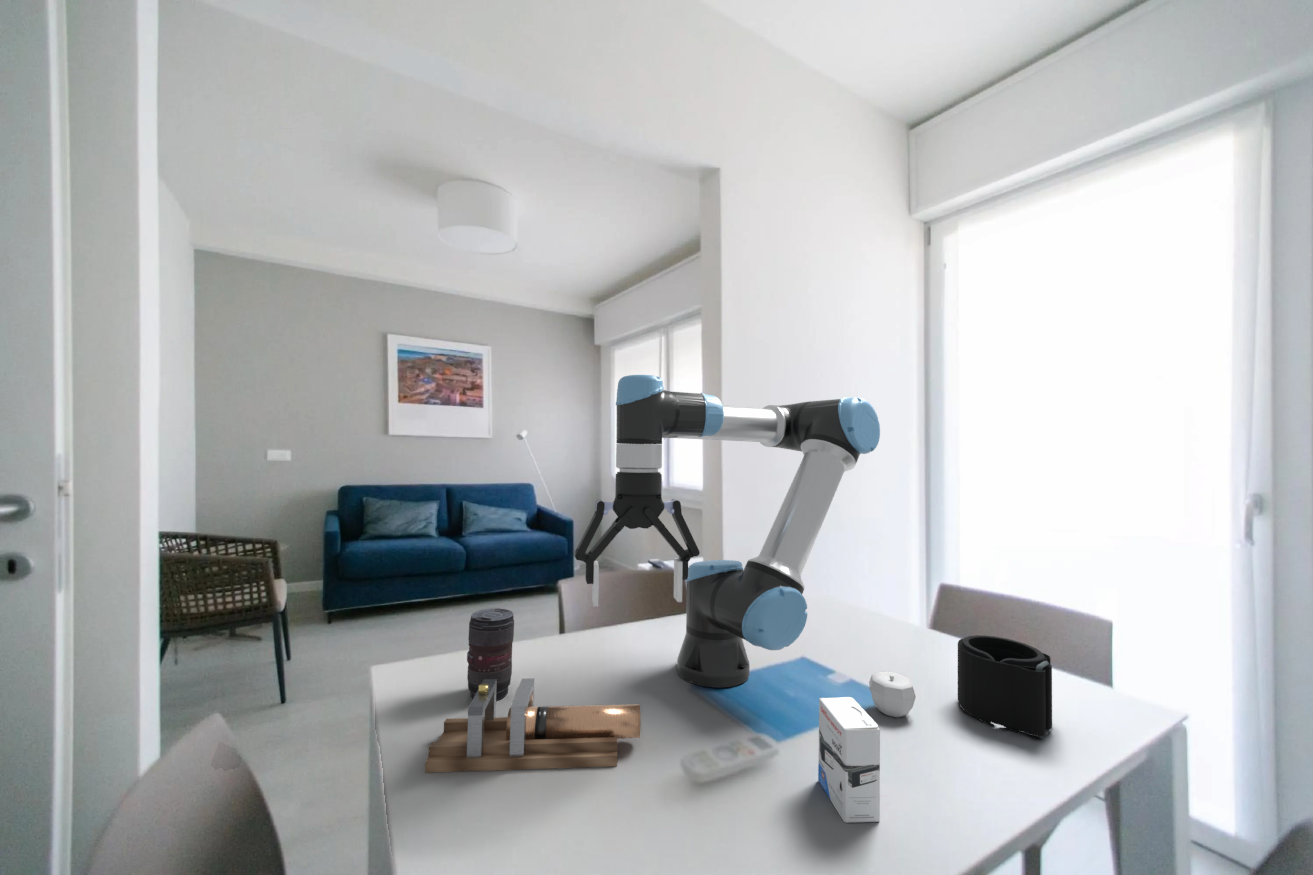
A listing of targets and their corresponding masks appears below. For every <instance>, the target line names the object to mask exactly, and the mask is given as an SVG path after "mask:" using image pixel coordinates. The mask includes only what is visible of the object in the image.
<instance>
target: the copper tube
mask: <svg viewBox="0 0 1313 875" xmlns="http://www.w3.org/2000/svg"><path fill="white" fill-rule="evenodd" d="M507 717H508V718H507V726H506V740H510V724H511V706H510V708H509V710H508V713H507ZM641 720H642V719H641V705H640V704H639V703H638V704H637V703H636V704H596V705H593V704H592V705H587V704H586V705H555V706H554V705H553V706H552V705H551V706H548V705H547V706H545V705H543V706H534V707H527V709H526V740H532V739H567V738H601V737H617V740H618V739H620V740H621V739H640V738H641V730H642V729H641V726H642V724H641V723H642V721H641Z"/></svg>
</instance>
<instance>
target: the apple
mask: <svg viewBox="0 0 1313 875" xmlns="http://www.w3.org/2000/svg"><path fill="white" fill-rule="evenodd" d="M870 676H871V677H870V679H869V681H868V684H869V691H870V695H871V698H872V701H873V703H874V705H875V706H876V709H878V711H879V712H880V713H883V714H884V715H886V716H889V717H893V718H900V717H905V716H907V715H908V714H909V713H910V712H911V710H912V709H913V708H914V705H915V701H916V697H917V696H916V693H915V690H914V687H913V683H912V680H911V679H910V678H908V677H906V676H904V675H902V674H900V673H897V672H889V671H880V672H874V673H871V675H870Z"/></svg>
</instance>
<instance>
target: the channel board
mask: <svg viewBox="0 0 1313 875" xmlns="http://www.w3.org/2000/svg"><path fill="white" fill-rule="evenodd" d="M507 718H508V716H503V717H502V716H499V717H497V716H496V717H495V718H494V720H484V743H483V745H482V757H481V758H467V733H468V717H462V718H461V717H457V718H446V719H445V721H444V722H443V732H442V734H441V735H440V737H439V739H438V740H437V741H434V742H431V743H430V744H429V746H428V755H427V759H426V760H425V763H424V764H425V766H424V767H425V771H424V772H425V773H427V774H428V773H451V772H454V773H455V772H456V773H457V772H478V771H479V772H481V771H482V772H484V771H513V770H541V769H542V770H543V769H567V768H568V769H569V768H570V769H573V768H577V769H578V768H597V767H598V768H601V767H604V768H605V767H618V739H617V737H601V738H567V739H532V740H526V741H525V749H524V757H510V740H506V726H507Z"/></svg>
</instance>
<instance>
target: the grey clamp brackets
mask: <svg viewBox="0 0 1313 875" xmlns="http://www.w3.org/2000/svg"><path fill="white" fill-rule="evenodd" d="M496 687H497V679H484V680H483V682H482V684H480V685H479V689H478V691H477V693H476V694H475V696H474V698H473V700H472V699H471V701H470V704H469V705H468V707H467V710H468V711H467V718H468V733H467V758H481V757H482V745H483V743H484V720H494V718H495V717H497V716H496V715H497V714H496V711H497V710H496V709H497V701H496ZM534 703H535V678H521V680H520V683H519V685H518V688H517V690H516V692H515V695H514V698H513V700H512V703H511V705H510V707H511V724H510V757H524V749H525V741H526V709H527V707H535V705H534Z"/></svg>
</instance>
